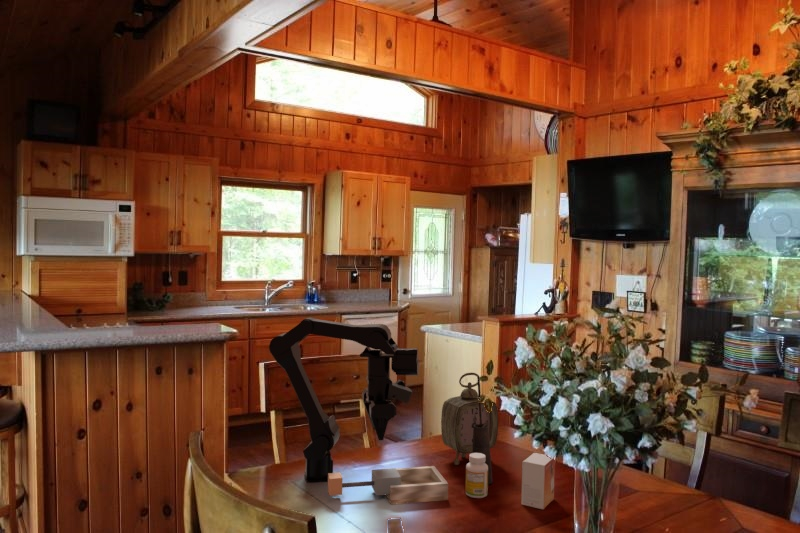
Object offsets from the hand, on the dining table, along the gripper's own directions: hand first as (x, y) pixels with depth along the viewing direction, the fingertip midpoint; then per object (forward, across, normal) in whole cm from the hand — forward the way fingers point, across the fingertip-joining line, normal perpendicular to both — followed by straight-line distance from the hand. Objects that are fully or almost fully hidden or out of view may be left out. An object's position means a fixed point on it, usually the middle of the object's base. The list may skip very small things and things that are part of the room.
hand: (378, 434), depth 162 cm
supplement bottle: (+13, -11, -23) cm, 28 cm away
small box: (+13, -18, -36) cm, 42 cm away
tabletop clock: (+13, +13, -28) cm, 33 cm away
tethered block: (+11, -9, +5) cm, 15 cm away
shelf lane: (+12, -8, -8) cm, 17 cm away
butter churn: (+13, -3, -27) cm, 30 cm away
